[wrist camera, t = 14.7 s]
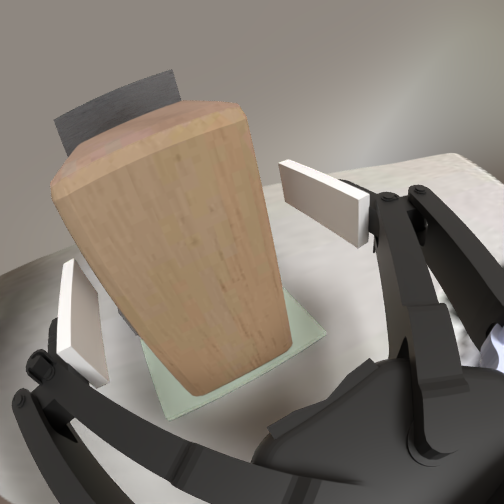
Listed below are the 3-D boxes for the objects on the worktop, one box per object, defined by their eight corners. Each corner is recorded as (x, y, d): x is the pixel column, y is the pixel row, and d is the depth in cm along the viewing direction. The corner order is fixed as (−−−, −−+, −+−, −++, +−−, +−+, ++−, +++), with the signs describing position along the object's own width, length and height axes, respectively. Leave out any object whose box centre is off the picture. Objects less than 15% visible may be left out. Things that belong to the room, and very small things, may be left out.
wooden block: (247, 285, 31) (192, 96, 19) (298, 349, 24) (250, 96, 12) (164, 326, 29) (68, 148, 17) (195, 404, 21) (37, 186, 9)
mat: (169, 421, 21) (166, 418, 20) (142, 343, 28) (140, 339, 28) (326, 335, 25) (326, 331, 24) (270, 277, 32) (269, 273, 32)
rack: (136, 335, 29) (19, 131, 15) (120, 260, 42) (54, 119, 27) (267, 268, 34) (214, 50, 19) (214, 214, 46) (171, 69, 32)
